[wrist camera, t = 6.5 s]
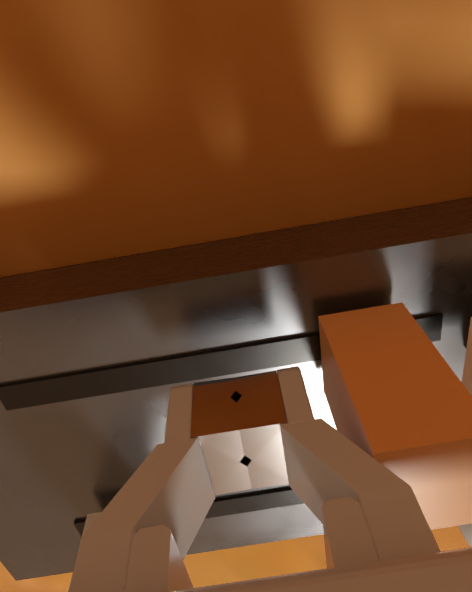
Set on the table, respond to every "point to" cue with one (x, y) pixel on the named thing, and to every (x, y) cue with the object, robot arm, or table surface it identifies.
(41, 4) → the table surface
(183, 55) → the table surface
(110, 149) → the table surface
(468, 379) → the plate
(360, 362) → the fader orange
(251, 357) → the console
